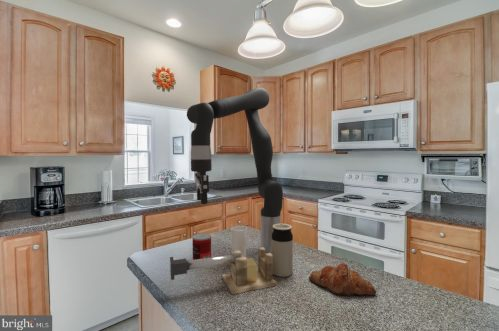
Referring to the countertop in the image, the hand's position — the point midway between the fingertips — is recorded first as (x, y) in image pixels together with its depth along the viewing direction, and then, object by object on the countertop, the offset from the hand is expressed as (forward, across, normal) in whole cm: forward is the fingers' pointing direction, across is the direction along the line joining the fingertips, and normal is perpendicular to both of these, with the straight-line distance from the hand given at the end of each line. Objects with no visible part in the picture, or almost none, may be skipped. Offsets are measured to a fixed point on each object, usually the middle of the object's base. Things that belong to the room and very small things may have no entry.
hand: (202, 201), depth 94 cm
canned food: (+28, +12, -2) cm, 31 cm away
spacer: (+24, -11, -14) cm, 30 cm away
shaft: (+21, -11, +1) cm, 24 cm away
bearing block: (+28, -11, -14) cm, 33 cm away
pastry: (+29, -26, -42) cm, 57 cm away
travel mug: (+28, -9, -28) cm, 41 cm away
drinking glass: (+28, +4, -16) cm, 32 cm away
